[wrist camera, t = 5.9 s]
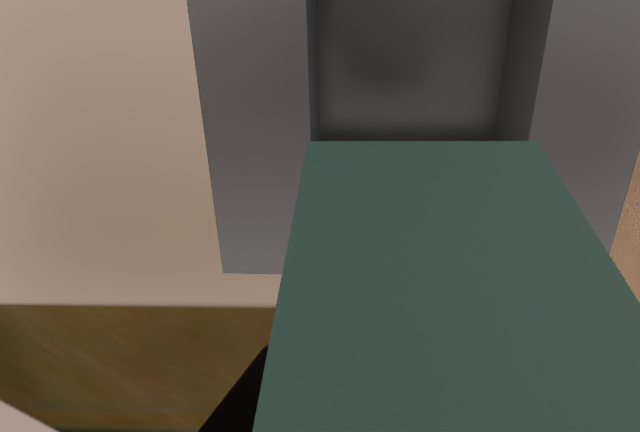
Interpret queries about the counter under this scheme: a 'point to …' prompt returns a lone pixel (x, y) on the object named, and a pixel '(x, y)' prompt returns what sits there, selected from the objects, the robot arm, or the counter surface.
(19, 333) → the counter surface
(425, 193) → the teal block
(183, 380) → the counter surface
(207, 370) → the counter surface
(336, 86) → the well block
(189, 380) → the counter surface
